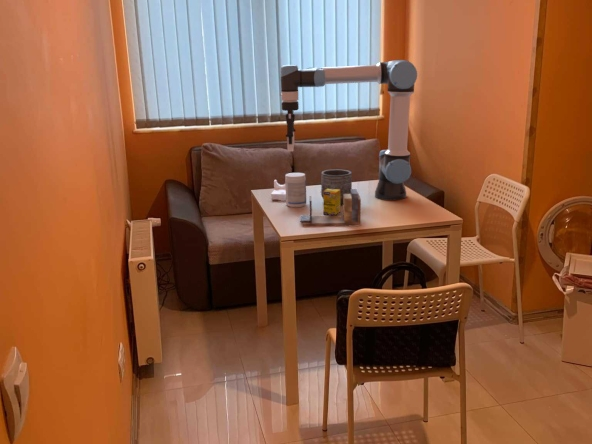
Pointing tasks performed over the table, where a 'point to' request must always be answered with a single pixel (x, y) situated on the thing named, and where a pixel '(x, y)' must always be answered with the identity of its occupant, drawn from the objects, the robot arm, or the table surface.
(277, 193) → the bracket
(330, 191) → the supplement box
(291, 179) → the supplement tub
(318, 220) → the board
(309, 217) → the bookend
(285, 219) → the table surface
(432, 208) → the table surface
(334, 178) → the planter
